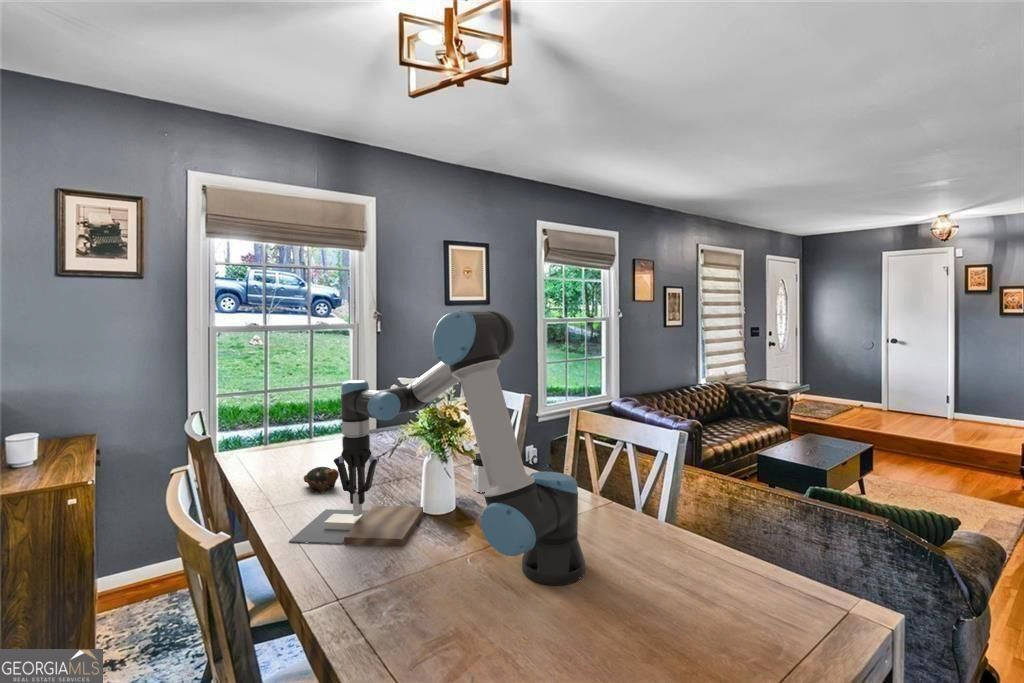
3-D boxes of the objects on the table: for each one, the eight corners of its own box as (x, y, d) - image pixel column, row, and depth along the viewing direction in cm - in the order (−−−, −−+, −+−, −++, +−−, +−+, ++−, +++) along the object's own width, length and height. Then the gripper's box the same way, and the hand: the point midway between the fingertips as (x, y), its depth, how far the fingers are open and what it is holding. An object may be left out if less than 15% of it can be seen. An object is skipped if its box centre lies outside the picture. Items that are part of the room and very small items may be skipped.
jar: (468, 488, 176) (467, 454, 175) (487, 483, 180) (487, 451, 180) (481, 495, 168) (481, 460, 168) (501, 490, 173) (501, 456, 172)
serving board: (423, 513, 154) (423, 506, 154) (402, 546, 132) (402, 538, 132) (373, 511, 155) (373, 505, 155) (344, 544, 133) (343, 537, 133)
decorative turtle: (331, 495, 169) (328, 473, 168) (295, 493, 174) (292, 471, 173) (349, 485, 178) (346, 463, 178) (314, 483, 183) (312, 462, 183)
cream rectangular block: (362, 521, 147) (362, 514, 147) (354, 530, 141) (354, 523, 141) (333, 520, 148) (333, 513, 148) (324, 529, 142) (323, 522, 142)
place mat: (372, 511, 155) (372, 510, 155) (342, 544, 133) (342, 542, 133) (325, 510, 156) (325, 509, 156) (288, 542, 134) (288, 541, 134)
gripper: (382, 431, 146) (384, 509, 147) (339, 430, 147) (341, 508, 148) (373, 437, 138) (374, 520, 140) (328, 437, 140) (330, 519, 141)
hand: (357, 514), depth 144 cm, fingers closed
